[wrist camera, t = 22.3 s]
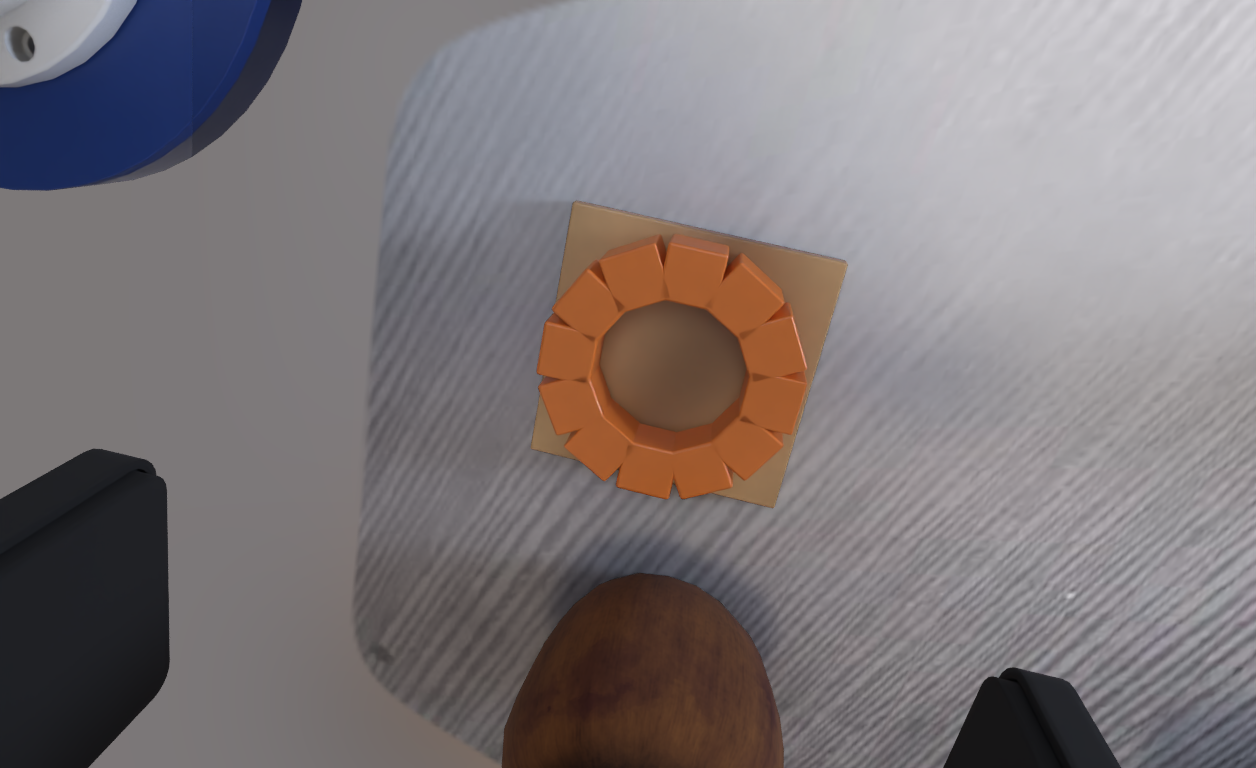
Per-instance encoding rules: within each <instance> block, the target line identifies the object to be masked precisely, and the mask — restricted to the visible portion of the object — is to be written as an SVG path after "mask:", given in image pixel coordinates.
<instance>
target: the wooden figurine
mask: <svg viewBox="0 0 1256 768" xmlns="http://www.w3.org/2000/svg"><path fill="white" fill-rule="evenodd" d="M502 768H784V748H783V740H782V732H781V724H780V717H779V713H778V710H777V706H776V703H775V699H774V695H773V692H772V688H771V685H770V682H769V679H768V676H767V674H766V671H765V668H764V665H763V662H762V659H761V656H760V654H759V652H758V650H757V648H756V646H755V645H754V643H753V641H752V639H751V637H750V635H749V634H748V633H747V632H746V631H745V630H744V628H743V627H742V626H741V625H740V624H739V622H738V621H737V620H736V619H735V618H734V617H733V616H732V615H731V614H730V612H729V611H728V610H727V609H726V608H725V607H724V606H723V605H722V604H721V603H720V602H719V601H718V600H716V599H715V598H714V597H712V596H711V595H709V594H708V593H706V592H705V591H703V590H702V589H700V588H699V587H697V586H695V585H692V584H689V583H687V582H684V581H681V580H678V579H675V578H672V577H669V576H662V575H653V574H644V573H637V574H633V575H629V576H625V577H621V578H617V579H613V580H610V581H607V582H605V583H603V584H600V585H598V586H597V587H596V588H595V589H593V590H592V591H591V592H589V593H588V594H587V595H586V596H584V597H583V598H582V599H581V600H579V601H578V602H577V603H575V604H574V605H573V606H572V608H571V609H570V610H569V611H568V612H567V613H566V614H565V616H564V617H563V618H562V619H561V620H560V621H559V623H558V624H557V626H556V627H555V629H554V630H553V631H552V633H551V634H550V636H549V637H548V639H547V640H546V642H545V643H544V645H543V647H542V649H541V651H540V652H539V654H538V656H537V658H536V660H535V662H534V663H533V665H532V667H531V669H530V671H529V673H528V675H527V677H526V679H525V681H524V683H523V685H522V687H521V689H520V691H519V694H518V696H517V698H516V700H515V703H514V705H513V708H512V710H511V713H510V715H509V718H508V720H507V723H506V725H505V728H504V741H503V756H502Z"/></svg>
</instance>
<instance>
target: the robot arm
mask: <svg viewBox="0 0 1256 768" xmlns="http://www.w3.org/2000/svg"><path fill="white" fill-rule="evenodd" d="M136 2H137V0H0V87H22V86H26V85H30V84H34V83H39V82H43V81H47V80H51V79H54V78H56V77H58V76H60V75H62V74H64V73H66V72H68V71H69V70H71V69H73V68H75V67H77V66H79V65H81V64H83V63H85V62H86V61H87V60H88V59H89V58H90V57H92V56H93V55H94V54H95V53H96V52H97V51H98V50H99V49H100V48H101V47H103V46H104V45H105V44H106V43H107V42H108V41H109V40H110V39H111V38H112V37H113V36H114V35H115V33H116V32H117V30H118V29H119V28H120V26H121V25H122V23H123V22H124V20H125V19H126V17H127V16H128V14H129V13H130V11H131V10H132V8H133V7H134V5H135V4H136ZM167 534H168V532H167V489H166V483H165V482H164V480H163V479H162V478H161V477H159V476H156V471H155V468H154V467H153V465H152V463H150V462H149V461H147V460H145V459H140V458H136V457H132V456H128V455H124V454H119V453H115V452H111V451H107V450H103V449H91V450H89V451H86V452H84V453H82V454H80V455H78V456H77V457H75V458H73V459H71V460H69V461H68V462H66V463H64V464H62V465H60V466H59V467H57V468H55V469H53V470H51V471H50V472H48V473H46V474H44V475H43V476H41V477H39V478H37V479H36V480H34V481H32V482H30V483H28V484H27V485H25V486H23V487H21V488H19V489H18V490H16V491H14V492H12V493H10V494H9V495H7V496H5V497H3V498H2V499H0V768H88V767H89V766H90V765H91V764H92V763H93V762H94V761H95V760H96V759H97V758H98V757H99V755H100V754H101V753H102V752H103V751H104V750H105V749H106V748H107V747H108V746H109V745H110V744H111V743H112V742H113V741H114V740H115V739H116V738H117V736H118V735H119V734H120V733H121V732H122V731H123V730H124V729H125V728H126V727H127V726H128V725H129V724H130V723H131V722H132V721H133V719H134V718H135V717H136V716H137V715H138V714H139V713H140V712H141V711H142V710H143V709H144V708H145V707H146V706H147V705H148V704H149V702H150V701H151V700H152V699H153V698H154V697H155V696H156V695H157V693H158V692H159V690H160V689H161V687H162V685H163V683H164V681H165V679H166V676H167V673H168V669H169V662H170V661H169V660H170V657H169V594H168V536H167ZM943 768H1121V767H1120V765H1119V763H1118V762H1117V760H1116V758H1115V757H1114V755H1113V753H1112V752H1111V750H1110V748H1109V746H1108V745H1107V743H1106V741H1105V740H1104V738H1103V736H1102V735H1101V733H1100V731H1099V729H1098V728H1097V726H1096V724H1095V723H1094V721H1093V719H1092V718H1091V716H1090V714H1089V712H1088V711H1087V709H1086V707H1085V706H1084V704H1083V702H1082V701H1081V699H1080V697H1079V695H1078V694H1077V692H1076V690H1075V689H1074V688H1073V687H1072V685H1071V684H1070V683H1069V682H1067V681H1065V680H1063V679H1060V678H1056V677H1051V676H1047V675H1043V674H1039V673H1035V672H1031V671H1026V670H1022V669H1018V668H1007V669H1006V670H1005V671H1004V672H1002V674H1001V675H1000V677H999V678H997V677H988V678H987V679H986V680H985V681H984V682H983V684H982V686H981V687H980V690H979V692H978V694H977V696H976V698H975V700H974V702H973V705H972V707H971V709H970V711H969V713H968V715H967V718H966V720H965V722H964V724H963V726H962V728H961V731H960V733H959V735H958V737H957V739H956V741H955V744H954V746H953V748H952V750H951V752H950V754H949V757H948V759H947V761H946V763H945V765H944V767H943Z"/></svg>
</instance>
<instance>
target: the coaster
mask: <svg viewBox="0 0 1256 768" xmlns="http://www.w3.org/2000/svg"><path fill="white" fill-rule="evenodd" d="M658 234H660V235H661V236H662V239H663V242H664V245H665V248H666V252H667V248H668V244H669V242H670V240H671V238H672V237H673V235H674V234H679V235H684V236H688V237H693V238H697V239H702V240H706V241H710V242H715V243H719V244H724V245H728V246H729V258H728V262H727V266H728V265H729V264H730V263H731V262H732V261H733V260H734V259H735V258H736V257H737V256H738V255H739V254H740V253H743V254H744V255H745V256H746V257H748V258H749V259H750V260H751V261H752V262H753V263H754V264H755V265H756V266H757V267H758V268H759V269H760V270H761V271H762V272H764V273H765V274H766V275H767V276H768V277H769V278H770V279H771V280H772V281H773V282H774V283H775V284H776V285H777V286H779V287H780V288H781V289H782V293H783V298H784V302H785V303H786V302H788V303H790V304H791V308H792V312H793V315H794V319H795V322H796V326H797V330H798V333H799V337H800V340H801V344H802V348H803V351H804V355H805V359H806V364H807V369H806V370H805V371H804V372H805V376H806V380H807V387H806V390H805V394H804V397H803V400H802V404H801V407H800V410H799V414H798V417H797V420H796V424H795V427H794V430H793V433H792V435H788V434H784V433H782V434H783V442H784V446H783V448H782V449H781V450H779V451H778V452H777V453H776V454H775V455H774V456H773V457H772V458H771V459H769V460H768V461H767V462H766V463H765V464H764V465H763V466H762V467H761V468H759V469H758V470H757V471H756V472H755V473H754V474H753V475H752V476H751V477H750V478H748V479H747V480H745V481H744V480H742V479H741V478H740V477H739V476H738V475H737V474H736V473H734V472H733V487H731V488H729V489H725V490H721V491H716V492H712V493H713V494H717V495H721V496H725V497H729V498H733V499H737V500H741V501H746V502H750V503H754V504H758V505H762V506H766V507H770V508H774V507H775V503H776V500H777V497H778V494H779V490H780V487H781V484H782V480H783V477H784V474H785V470H786V467H787V464H788V461H789V457H790V454H791V451H792V447H793V444H794V441H795V437H796V434H797V431H798V428H799V424H800V421H801V418H802V414H803V411H804V408H805V404H806V401H807V398H808V395H809V391H810V388H811V385H812V381H813V378H814V375H815V371H816V368H817V365H818V361H819V358H820V355H821V352H822V348H823V345H824V342H825V338H826V335H827V332H828V328H829V325H830V322H831V319H832V315H833V312H834V309H835V305H836V302H837V299H838V295H839V292H840V289H841V286H842V282H843V279H844V276H845V272H846V269H847V266H848V264H847V262H846V261H845V260H840V259H836V258H831V257H827V256H822V255H818V254H814V253H809V252H805V251H800V250H796V249H791V248H787V247H782V246H778V245H773V244H769V243H764V242H760V241H756V240H751V239H747V238H742V237H738V236H733V235H729V234H724V233H720V232H715V231H711V230H707V229H702V228H698V227H693V226H689V225H684V224H680V223H675V222H671V221H666V220H662V219H657V218H653V217H649V216H644V215H640V214H635V213H631V212H626V211H622V210H617V209H613V208H608V207H604V206H600V205H595V204H591V203H586V202H582V201H575V202H573V204H572V210H571V216H570V222H569V227H568V233H567V239H566V245H565V251H564V256H563V262H562V268H561V274H560V280H559V286H558V291H557V297H556V302H557V301H558V300H559V299H560V298H561V296H562V295H563V294H564V293H565V292H566V291H567V290H568V288H569V287H570V286H571V285H572V284H573V283H574V282H575V280H576V279H577V278H578V277H579V276H580V275H581V274H582V273H583V271H584V270H585V269H586V268H587V267H588V266H589V265H590V264H591V263H592V262H593V261H594V260H596V259H598V260H600V259H601V258H602V257H603V256H604V255H605V254H606V253H607V252H608V251H609V250H611V249H614V248H617V247H620V246H623V245H627V244H630V243H633V242H636V241H639V240H642V239H645V238H649V237H652V236H655V235H658ZM727 266H726V267H727ZM599 364H600V367H601V370H602V373H603V376H604V378H605V381H606V384H607V387H608V390H609V393H610V395H611V398H612V399H613V400H614V401H616V402H617V403H618V404H619V405H620V406H621V407H622V408H623V409H625V410H626V411H627V412H628V413H629V414H630V415H631V416H633V417H634V418H635V419H636V420H637V421H638V422H639V423H641V424H645V425H649V426H653V427H657V428H661V429H665V430H670V431H674V432H679V431H683V430H687V429H691V428H695V427H699V426H703V425H707V424H711V423H713V422H714V421H715V420H716V419H717V418H718V417H719V416H720V415H721V414H722V413H723V412H724V411H725V410H726V409H727V408H729V407H730V406H731V405H732V404H733V403H734V402H735V401H736V400H737V399H738V398H739V396H740V392H741V388H742V384H743V381H744V377H745V373H746V370H747V368H746V365H745V362H744V358H743V355H742V352H741V348H740V345H739V342H738V338H737V337H736V336H734V335H733V334H732V333H731V332H730V331H729V330H728V329H727V328H726V327H725V326H724V325H722V324H721V323H720V322H719V321H718V320H717V319H716V318H715V317H714V316H713V315H712V314H710V313H709V312H708V311H707V310H705V309H701V308H696V307H692V306H688V305H683V304H679V303H675V302H670V301H666V300H665V301H661V302H658V303H654V304H651V305H648V306H644V307H641V308H638V309H634V310H631V311H628V312H625V313H624V314H623V315H622V316H621V317H620V318H619V319H618V320H617V321H616V322H615V324H614V325H613V326H612V327H611V328H610V329H609V330H608V331H607V332H606V333H605V338H604V343H603V348H602V353H601V358H600V363H599ZM545 377H546V376H543V379H544V378H545ZM543 379H542V381H543ZM570 433H571V432H570ZM570 433H566V434H562V435H556V433H555V431H554V428H553V426H552V423H551V420H550V418H549V415H548V413H547V410H546V407H545V405H544V402H543V400H542V397H541V394H540V396H539V402H538V408H537V413H536V419H535V425H534V431H533V437H532V442H531V449H534V450H538V451H542V452H546V453H550V454H554V455H558V456H562V457H566V458H570V459H574V460H578V459H577V458H576V457H575V456H574V455H573V454H571V453H570V452H569V451H568V450H567V449H566V448H565V447H564V445H565V443H566V441H567V439H568V437H569V435H570ZM578 461H580V460H578ZM619 468H620V467H619ZM619 468H618V469H617V470H619ZM673 484H675V481H674V480H673Z"/></svg>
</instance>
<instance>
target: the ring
mask: <svg viewBox="0 0 1256 768" xmlns="http://www.w3.org/2000/svg"><path fill="white" fill-rule="evenodd" d="M728 258H729V246H728V245H724V244H719V243H715V242H710V241H706V240H702V239H697V238H693V237H688V236H684V235H679V234H674V235H673V237H672V238H671V240H670V242H669V244H668V248H667V252H666V248H665V245H664V242H663V239H662V236H661V235H660V234H658V235H655V236H652V237H649V238H645V239H642V240H639V241H636V242H633V243H630V244H627V245H623V246H620V247H617V248H614V249H611V250H609V251H608V252H607V253H606V254H605V255H604V256H603V257H602V258H601V259H600V260H598V259H596V260H594V261H593V262H592V263H591V264H590V265H589V266H588V267H587V268H586V269H585V270H584V271H583V273H582V274H581V275H580V276H579V277H578V278H577V279H576V280H575V282H574V283H573V284H572V285H571V286H570V287H569V288H568V290H567V291H566V292H565V293H564V294H563V295H562V296H561V298H560V299H559V300H558V301H557V302H556V303H555V304H554V306H553V307H552V310H553V312H554V313H553V314H552V315H551V316H550V318H549V319H548V320H547V321H546V322H545V324H544V330H543V336H542V342H541V348H540V353H539V359H538V365H537V374H539V375H543V376H546V377H545V378H544V379H543V381H542V382H541V383H540V385H539V386H538V389H539V392H540V394H541V397H542V400H543V402H544V405H545V407H546V410H547V413H548V415H549V418H550V420H551V423H552V426H553V428H554V431H555V433H556V435H562V434H566V433H570V432H571V433H570V435H569V437H568V439H567V441H566V443H565V445H564V447H565V448H566V449H567V450H568V451H569V452H570V453H571V454H573V455H574V456H575V457H576V458H577V459H578V460H580V461H581V462H582V463H583V464H584V465H585V466H587V467H588V468H589V469H590V470H591V471H592V472H593V473H595V474H596V475H597V476H598V477H599V478H600V479H602V480H603V481H606V480H607V479H608V478H609V477H610V476H611V475H612V474H613V473H614V472H615V471H616V470H617V469H618V468H619V467H620V468H619V472H618V477H617V481H616V486H617V487H618V488H622V489H626V490H630V491H634V492H638V493H642V494H646V495H650V496H654V497H658V498H662V499H668V498H669V496H670V492H671V488H672V484H673V480H674V481H675V484H676V487H677V490H678V493H679V496H680V498H681V499H687V498H691V497H695V496H699V495H704V494H708V493H712V492H716V491H721V490H725V489H729V488H731V487H733V472H734V473H736V474H737V475H738V476H739V477H740V478H741V479H742V480H744V481H745V480H747V479H748V478H750V477H751V476H752V475H753V474H754V473H755V472H756V471H757V470H758V469H759V468H761V467H762V466H763V465H764V464H765V463H766V462H767V461H768V460H769V459H771V458H772V457H773V456H774V455H775V454H776V453H777V452H778V451H779V450H781V449H782V448H783V446H784V442H783V434H782V433H784V434H788V435H792V433H793V430H794V427H795V424H796V420H797V417H798V414H799V410H800V407H801V404H802V400H803V397H804V394H805V390H806V387H807V380H806V376H805V372H804V371H805V370H806V369H807V364H806V359H805V355H804V351H803V348H802V344H801V340H800V337H799V333H798V330H797V326H796V322H795V319H794V315H793V312H792V308H791V304H790V303H788V302H786V303H785V302H784V298H783V293H782V289H781V288H780V287H779V286H777V285H776V284H775V283H774V282H773V281H772V280H771V279H770V278H769V277H768V276H767V275H766V274H765V273H764V272H762V271H761V270H760V269H759V268H758V267H757V266H756V265H755V264H754V263H753V262H752V261H751V260H750V259H749V258H748V257H746V256H745V255H744V254H743V253H740V254H739V255H738V256H737V257H736V258H735V259H734V260H733V261H732V262H731V263H730V264H729V265H728V266H727V262H728ZM726 266H727V267H726ZM665 300H666V301H670V302H675V303H679V304H683V305H688V306H692V307H696V308H701V309H705V310H707V311H708V312H709V313H710V314H712V315H713V316H714V317H715V318H716V319H717V320H718V321H719V322H720V323H721V324H722V325H724V326H725V327H726V328H727V329H728V330H729V331H730V332H731V333H732V334H733V335H734V336H736V337H737V338H738V342H739V345H740V348H741V352H742V355H743V358H744V362H745V365H746V368H747V370H746V373H745V377H744V381H743V384H742V388H741V392H740V396H739V398H738V399H737V400H736V401H735V402H734V403H733V404H732V405H731V406H730V407H729V408H727V409H726V410H725V411H724V412H723V413H722V414H721V415H720V416H719V417H718V418H717V419H716V420H715V421H714V422H713V423H711V424H707V425H703V426H699V427H695V428H691V429H687V430H683V431H679V432H674V431H670V430H665V429H661V428H657V427H653V426H649V425H645V424H641V423H639V422H638V421H637V420H636V419H635V418H634V417H633V416H631V415H630V414H629V413H628V412H627V411H626V410H625V409H623V408H622V407H621V406H620V405H619V404H618V403H617V402H616V401H614V400H613V399H612V398H611V395H610V393H609V390H608V387H607V384H606V381H605V378H604V376H603V373H602V370H601V367H600V364H599V363H600V358H601V353H602V348H603V343H604V338H605V333H606V332H607V331H608V330H609V329H610V328H611V327H612V326H613V325H614V324H615V322H616V321H617V320H618V319H619V318H620V317H621V316H622V315H623V314H624V313H625V312H628V311H631V310H634V309H638V308H641V307H644V306H648V305H651V304H654V303H658V302H661V301H665Z"/></svg>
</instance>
